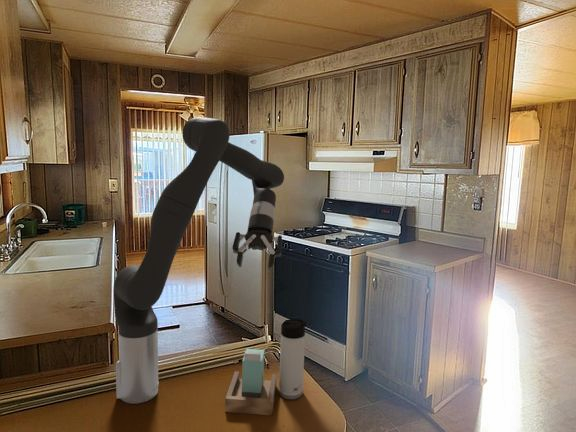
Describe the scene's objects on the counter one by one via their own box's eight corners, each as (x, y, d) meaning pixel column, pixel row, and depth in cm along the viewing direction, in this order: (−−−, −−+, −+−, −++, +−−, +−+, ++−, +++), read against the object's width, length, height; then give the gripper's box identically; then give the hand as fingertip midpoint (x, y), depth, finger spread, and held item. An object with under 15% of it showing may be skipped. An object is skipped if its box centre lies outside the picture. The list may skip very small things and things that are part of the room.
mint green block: (241, 397, 100) (242, 353, 98) (245, 383, 106) (246, 342, 104) (260, 398, 100) (262, 355, 98) (263, 385, 106) (264, 343, 104)
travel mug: (301, 401, 102) (304, 328, 99) (276, 397, 103) (278, 324, 100) (305, 387, 108) (308, 318, 105) (281, 384, 109) (284, 315, 106)
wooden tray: (225, 411, 97) (225, 398, 96) (234, 383, 109) (234, 371, 108) (271, 415, 96) (272, 402, 96) (276, 386, 108) (276, 374, 108)
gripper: (237, 211, 119) (228, 258, 110) (284, 214, 119) (279, 262, 109) (239, 224, 125) (231, 271, 116) (284, 228, 125) (279, 274, 116)
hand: (254, 267), depth 113 cm, fingers open, 8 cm apart
